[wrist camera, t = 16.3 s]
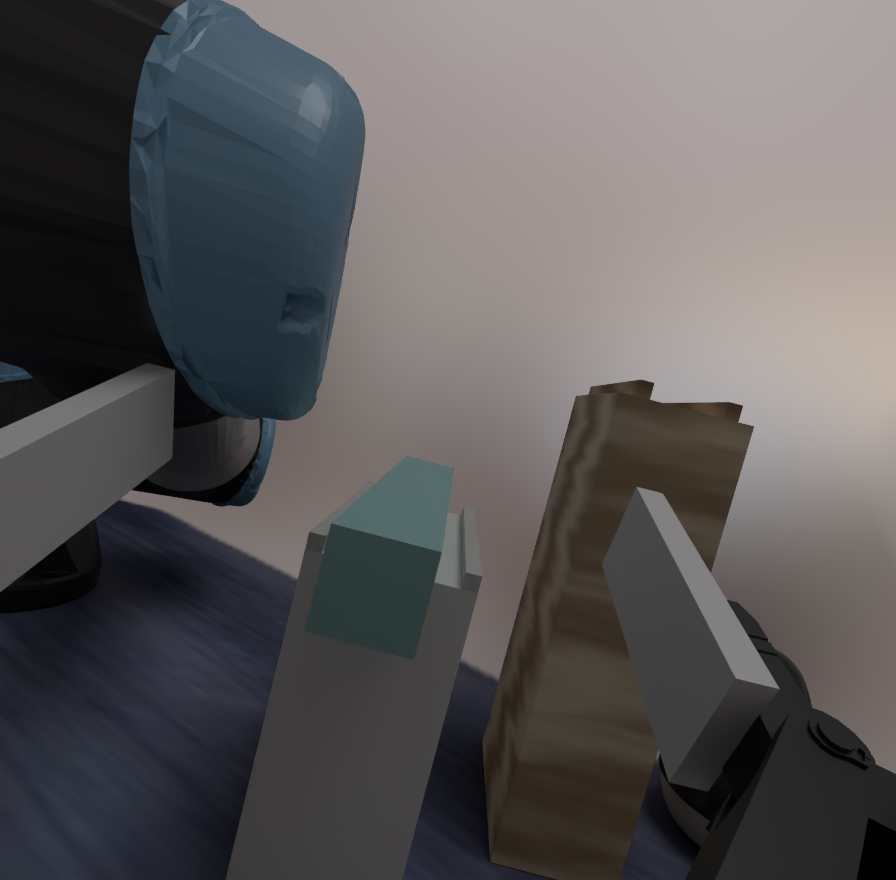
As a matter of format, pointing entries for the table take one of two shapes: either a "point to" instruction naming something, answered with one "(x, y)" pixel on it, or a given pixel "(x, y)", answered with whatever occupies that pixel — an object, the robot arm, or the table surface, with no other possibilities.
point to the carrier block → (353, 732)
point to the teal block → (384, 561)
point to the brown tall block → (594, 633)
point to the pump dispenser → (701, 806)
